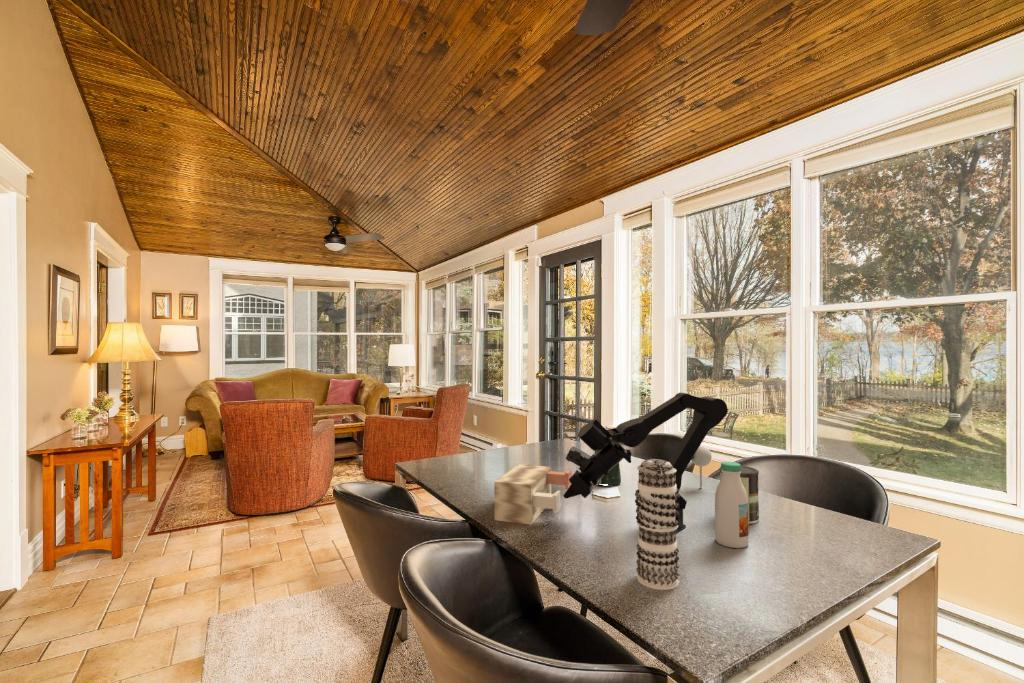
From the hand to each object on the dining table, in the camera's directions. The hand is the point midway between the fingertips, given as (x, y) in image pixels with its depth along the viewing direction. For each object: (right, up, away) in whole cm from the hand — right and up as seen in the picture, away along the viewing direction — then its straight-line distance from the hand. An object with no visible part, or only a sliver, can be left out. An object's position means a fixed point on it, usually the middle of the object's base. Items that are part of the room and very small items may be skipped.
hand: (564, 496), depth 133 cm
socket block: (-11, -8, +12) cm, 18 cm away
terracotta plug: (-2, -2, +17) cm, 17 cm away
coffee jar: (+20, -8, +40) cm, 45 cm away
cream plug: (-7, -4, +3) cm, 9 cm away
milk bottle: (+41, -7, -13) cm, 43 cm away
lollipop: (+52, -8, +34) cm, 62 cm away
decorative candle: (+16, -7, -32) cm, 37 cm away
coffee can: (+51, -8, +5) cm, 52 cm away
